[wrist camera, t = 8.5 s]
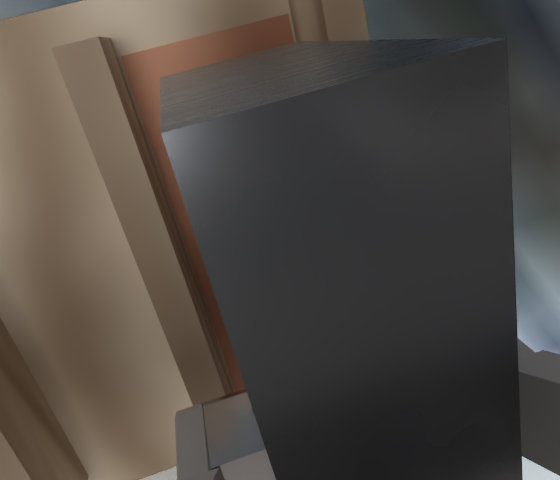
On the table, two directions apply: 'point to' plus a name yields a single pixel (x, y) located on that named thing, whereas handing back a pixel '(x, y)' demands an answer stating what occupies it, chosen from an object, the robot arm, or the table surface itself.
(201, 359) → the rack
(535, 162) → the table surface
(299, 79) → the blanking panel
